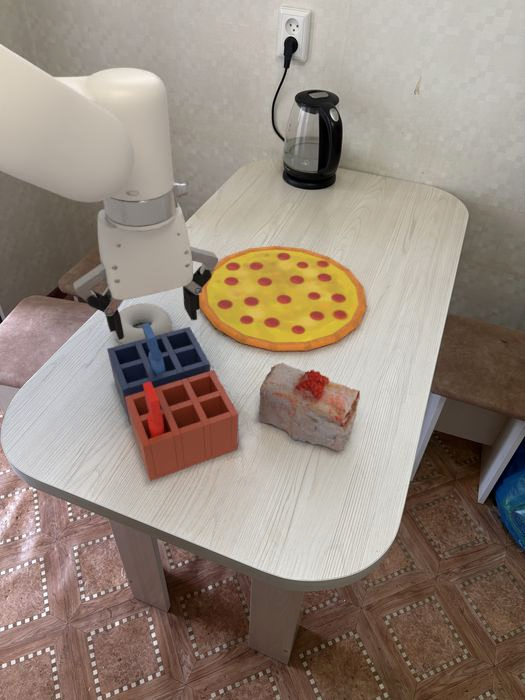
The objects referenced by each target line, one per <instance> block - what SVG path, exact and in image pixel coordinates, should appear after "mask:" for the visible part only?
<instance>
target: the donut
mask: <svg viewBox="0 0 525 700" xmlns="http://www.w3.org/2000/svg"><path fill="white" fill-rule="evenodd" d="M119 314H120V317H121V323H122V328H123V333H124V338H123V339H121V340H119V339H118V337H117V334H116V332H115V331H112V334H113V336H114V338H115V339H116V340H117V342H119V343H120V344H121V345H123V344H127V343H130V342H135V341H138V340H142V339H145V335H144V331H143V328H142V327H134V326H135V325H138V324H143V323H149V324H150V326H151V328H152V330H153V332H154V334H155V336H157V335H160V334H164V333H168V332H172V322H173V321H172V319H171V316H170V314H169V313H168V312H167V311H166V310H165V309H164V308H162V307H161V306H158V305H157V304H152V303H136V304H135V303H134V304H132V305H129V306H127V307H124V308H123V309H121V310H120V311H119Z"/></svg>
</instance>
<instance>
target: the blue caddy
mask: <svg viewBox="0 0 525 700" xmlns="http://www.w3.org/2000/svg"><path fill="white" fill-rule="evenodd" d="M156 340H157V344H158V348H159V350H160V351H161V353H162V357H163V361H164V365H165V369H166V372H165V373H161V374H158V375H155V374H154V372H153V370H152V367H151V364H150V360H149V356H148V354H149V352H150V350H149V348H148V346H147V342H146V339H142V340H138V341H135V342H130V343H127V344H120V345H119V344H118V345H115V346H113V347H109V348H107V355H108V358H109V363H110V368H111V373H112V376H113V380H114V384H115V388H116V390H117V394H118V395H119V399H120V402H121V404H122V407H123V410H124V412H125V415H126V419H127V421H128V424H129V426H130V427H131V423H130V419H129V414H128V410H127V405H126V401H125V397H126V396H129V395H132V394H136V393H139V392H142V391H144V388H143V383H147V382H150V381H151V383H152V385H153V388H156V387H159V386H162V385H165V384H169V383H172V382H175V381H179V380H182V379H185V378H187V379H188V378H189V377H192V376H196V375H199V374H202V373H205V372H208V371H211V363H210V361H209V359H208V358H207V355H206V354H205V352H204V350H203V348H202V346H201V345H200V343H199V341H198V339H197V337H196V335H195V334H194V332H193V330H192V328H191V327H190V326H187V327H184V328H179V329H176V330H171V331H170V332H168V333H164V334H160V335H157V336H156Z"/></svg>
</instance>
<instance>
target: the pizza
mask: <svg viewBox="0 0 525 700" xmlns="http://www.w3.org/2000/svg"><path fill="white" fill-rule="evenodd" d="M211 274H212V277H211V278H210V280H209V281H208V282H207V283H206V284H205V285H204V286H203V287H202V293H201V294H199V303H200V310H201V311H202V312H203V314H204V315H205V317H207V319H208V320H209V322H210V323H211V325H212V326H213V327H214V329H216V330H218V331H219V332H221V333H223V334H225V335H226V336H228V337H230V338H232V339H233V340H235V341H237V343H240V344H244V345H248V346H251V347H255V348H259V349H263V350H267V351H271V352H300V351H301V352H303V351H304V352H305V351H307V352H308V351H311V350H314V349H317V348H321V347H325V346H328V345H331V344H334V343H338V342H339V341H341V340H342V339H343V338H345V336H347V335H348V334H350V333H351V332H352V331H353V330H356V328H358V327H359V325H360V324H361V321H362V319H363V316H364V314H365V312H366V310H367V307H368V306H367V300H366V294H365V290H364V286H363V285H362V284H361V282H360V281H359V280H358V279H357V277H356V276H355V275H354V273H353V272H352V271H351V270H350V269H349V268H348V267H345V266H344V265H343V264H341V263H340V262H338V261H337V260H335V259H333V258H331V257H330V256H328V255H324V254H321V253H318V252H315V251H311V250H309V249H305V248H300V247H291V246H283V245H282V246H280V245H271V246H260V247H250V248H247V249H243V250H241V251H238V252H234V253H232V254H228V255H226V256H224V257H223V258H222V259H220V260H218V263H217V265H216V267H215V269H214V271H212V273H211Z"/></svg>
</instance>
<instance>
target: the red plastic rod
mask: <svg viewBox="0 0 525 700" xmlns="http://www.w3.org/2000/svg"><path fill="white" fill-rule="evenodd" d="M143 388H144V394H145V399H146V405H147V407H148V410H149V412H148V415H147V419H148V424H149V430H150V435H151V438H153V437H156V436H159V435H162V434H165V431H164V424H163V418H162V413H161V411H160V405H159V399H158V397H157V395H156V392H155V390H154V388H153V385H152V383H151V381H150V382H147V383H143Z"/></svg>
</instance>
